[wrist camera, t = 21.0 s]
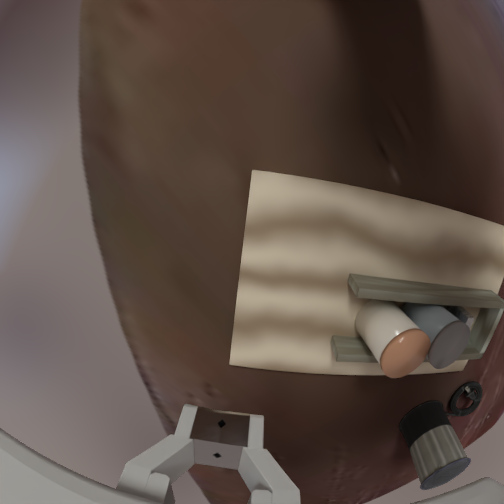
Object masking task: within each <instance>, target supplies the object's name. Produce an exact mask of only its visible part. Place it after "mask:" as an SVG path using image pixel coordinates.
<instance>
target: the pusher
mask: <svg viewBox="0 0 504 504" xmlns="http://www.w3.org/2000/svg"><path fill="white" fill-rule="evenodd" d="M441 306H443V307H444V308H445V309H446V310H448V311H449V312H450V313H451V314H453V315H454V316H455V317H456V318H458V319H459V320H460V321H463V322H464V323H465V324H466V325H468V326H469V328H471V326H472V323H473V321H474V319H475V318H474V317H473V316H472V315H471V314H470V313H469V312H468V311H467V310H465V309H464V308H463V307H462V306H449V305H441ZM453 363H454V362H453Z"/></svg>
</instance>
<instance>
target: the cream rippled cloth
mask: <svg viewBox="0 0 504 504" xmlns="http://www.w3.org/2000/svg"><path fill="white" fill-rule="evenodd" d="M503 277H504V226H503V225H500V224H497V223H494V222H491V221H488V220H485V219H482V218H479V217H475V216H472V215H469V214H465V213H462V212H459V211H455V210H452V209H448V208H445V207H441V206H437V205H434V204H430V203H426V202H422V201H418V200H414V199H410V198H406V197H402V196H398V195H393V194H389V193H385V192H380V191H375V190H371V189H366V188H361V187H356V186H351V185H346V184H341V183H335V182H330V181H324V180H318V179H313V178H306V177H300V176H294V175H287V174H280V173H273V172H266V171H258V170H252V177H251V185H250V193H249V201H248V209H247V217H246V225H245V234H244V242H243V250H242V259H241V267H240V276H239V284H238V293H237V301H236V310H235V319H234V328H233V337H232V346H231V355H230V364H229V365H236V366H243V367H251V368H259V369H268V370H278V371H289V372H301V373H316V374H337V375H385V374H384V372H383V370H382V369H381V367H380V364H379V363H378V361H377V359H376V358H375V356H374V355H373V353H372V352H371V350H370V349H369V347H368V346H367V344H366V343H365V341H364V340H363V338H362V337H361V335H360V334H359V332H358V331H357V329H356V325H355V322H356V317H357V315H358V313H359V311H360V309H361V308H362V307H363V306H364V305H365V304H366V303H367V302H369V301H370V300H372V299H378V300H388V301H393V302H394V303H395V304H396V305H397V306H398V307H399V308H400V309H402V307H403V306H404V304H405V303H406V302H411V303H423V304H436V305H449V306H462V307H463V308H464V309H465V310H467V311H468V312H469V313H470V314H471V315H472V316H473V317H474V318H475V319H474V321H473V323H472V326H471V328H470V338H469V341H468V344H467V346H466V348H465V349H464V351H463V352H462V354H461V355H460V356H459V357H458V358H457V359H456V360H455V361H454V363H452V364H450V365H449V366H447V367H445V368H442V369H436V368H434V367H433V366H432V365H431V364H430V362H429V361H428V359H427V358H425V359H424V361H423V362H422V363H421V364H420V365H419V367H417V368H416V369H415V370H414V371H412V372H411V373H409V374H427V373H441V372H453V371H463V369H464V367H465V365H466V363H467V361H468V360H469V359H480V358H481V357H482V356H483V354H484V352H485V350H486V348H487V346H488V344H489V342H490V340H491V338H492V335H493V333H494V331H495V329H496V327H497V324H498V322H499V320H500V318H501V315H502V313H503V310H504V300H503V299H502V298H501V297H499V296H498V292H499V289H500V286H501V283H502V280H503ZM407 375H408V374H407Z"/></svg>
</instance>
